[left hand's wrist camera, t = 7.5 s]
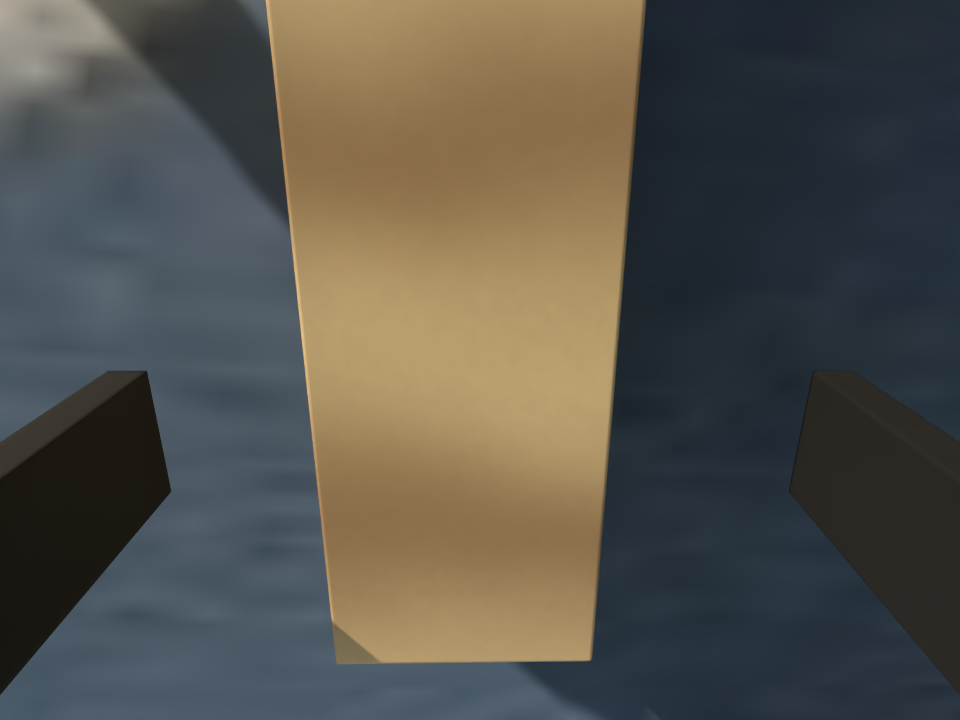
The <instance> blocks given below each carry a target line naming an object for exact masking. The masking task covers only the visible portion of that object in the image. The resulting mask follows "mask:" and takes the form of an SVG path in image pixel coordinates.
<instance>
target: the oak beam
mask: <svg viewBox="0 0 960 720" xmlns="http://www.w3.org/2000/svg"><path fill="white" fill-rule="evenodd" d="M266 6H267V15H268V25H269V34H270V44H271V53H272V62H273V72H274V81H275V91H276V100H277V110H278V119H279V128H280V138H281V147H282V157H283V166H284V176H285V185H286V194H287V204H288V213H289V223H290V232H291V242H292V251H293V260H294V270H295V279H296V289H297V298H298V308H299V317H300V326H301V336H302V345H303V355H304V364H305V374H306V383H307V392H308V402H309V411H310V421H311V430H312V440H313V449H314V458H315V468H316V477H317V487H318V496H319V506H320V515H321V524H322V534H323V543H324V553H325V562H326V571H327V581H328V590H329V600H330V609H331V619H332V628H333V637H334V647H335V656H336V662H337V663H338V664H378V663H464V662H549V661H590V660H591V659H592V654H593V642H594V630H595V618H596V606H597V594H598V581H599V569H600V557H601V545H602V533H603V521H604V509H605V497H606V484H607V472H608V460H609V448H610V436H611V424H612V412H613V400H614V387H615V375H616V363H617V351H618V339H619V327H620V315H621V303H622V290H623V278H624V266H625V254H626V242H627V230H628V218H629V205H630V193H631V181H632V169H633V157H634V145H635V133H636V121H637V108H638V96H639V84H640V72H641V60H642V48H643V36H644V24H645V11H646V0H266Z"/></svg>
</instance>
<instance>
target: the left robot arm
mask: <svg viewBox="0 0 960 720" xmlns="http://www.w3.org/2000/svg"><path fill="white" fill-rule="evenodd" d="M170 492H171V488H170V483H169V478H168V473H167V468H166V463H165V458H164V453H163V448H162V443H161V438H160V433H159V429H158V424H157V419H156V414H155V409H154V404H153V399H152V394H151V389H150V384H149V379H148V374H147V371H107V372H106V373H104V374H103V375H101V376H100V377H98V378H96V379H95V380H93V381H92V382H90V383H89V384H87V385H86V386H84V387H83V388H81V389H80V390H78V391H77V392H75V393H74V394H72V395H71V396H69V397H68V398H66V399H65V400H63V401H62V402H60V403H59V404H57V405H56V406H54V407H53V408H51V409H50V410H48V411H47V412H45V413H44V414H42V415H41V416H39V417H38V418H36V419H35V420H33V421H32V422H30V423H29V424H27V425H26V426H24V427H23V428H21V429H20V430H18V431H17V432H15V433H13V434H12V435H10V436H9V437H7V438H6V439H4V440H3V441H1V442H0V695H1V693H2V692H3V691H4V690H5V689H6V687H7V686H8V685H9V684H10V683H11V681H12V680H13V679H14V678H15V677H16V675H17V674H18V673H19V672H20V671H21V670H22V668H23V667H24V666H25V665H26V664H27V662H28V661H29V660H30V659H31V658H32V656H33V655H34V654H35V653H36V652H37V651H38V649H39V648H40V647H41V646H42V645H43V643H44V642H45V641H46V640H47V639H48V637H49V636H50V635H51V634H52V633H53V631H54V630H55V629H56V628H57V627H58V626H59V624H60V623H61V622H62V621H63V620H64V618H65V617H66V616H67V615H68V614H69V612H70V611H71V610H72V609H73V608H74V607H75V605H76V604H77V603H78V602H79V601H80V599H81V598H82V597H83V596H84V595H85V593H86V592H87V591H88V590H89V589H90V587H91V586H92V585H93V584H94V583H95V582H96V580H97V579H98V578H99V577H100V576H101V574H102V573H103V572H104V571H105V570H106V568H107V567H108V566H109V565H110V564H111V563H112V561H113V560H114V559H115V558H116V557H117V555H118V554H119V553H120V552H121V551H122V549H123V548H124V547H125V546H126V545H127V543H128V542H129V541H130V540H131V539H132V538H133V536H134V535H135V534H136V533H137V532H138V530H139V529H140V528H141V527H142V526H143V524H144V523H145V522H146V521H147V520H148V519H149V517H150V516H151V515H152V514H153V513H154V511H155V510H156V509H157V508H158V507H159V505H160V504H161V503H162V502H163V501H164V499H165V498H166V497H167V496H168V495H169V494H170ZM789 492H790V494H791V495H792V496H793V497H794V498H795V500H796V501H797V502H798V503H799V504H800V505H801V507H802V508H803V509H804V510H805V511H806V513H807V514H808V515H809V516H810V517H811V519H812V520H813V521H814V522H815V523H816V524H817V526H818V527H819V528H820V529H821V530H822V532H823V533H824V534H825V535H826V536H827V538H828V539H829V540H830V541H831V542H832V543H833V545H834V546H835V547H836V548H837V549H838V551H839V552H840V553H841V554H842V555H843V557H844V558H845V559H846V560H847V561H848V563H849V564H850V565H851V566H852V567H853V568H854V570H855V571H856V572H857V573H858V574H859V576H860V577H861V578H862V579H863V580H864V582H865V583H866V584H867V585H868V586H869V587H870V589H871V590H872V591H873V592H874V593H875V595H876V596H877V597H878V598H879V599H880V601H881V602H882V603H883V604H884V605H885V607H886V608H887V609H888V610H889V611H890V612H891V614H892V615H893V616H894V617H895V618H896V620H897V621H898V622H899V623H900V624H901V626H902V627H903V628H904V629H905V630H906V631H907V633H908V634H909V635H910V636H911V637H912V639H913V640H914V641H915V642H916V643H917V645H918V646H919V647H920V648H921V649H922V651H923V652H924V653H925V654H926V655H927V656H928V658H929V659H930V660H931V661H932V662H933V664H934V665H935V666H936V667H937V668H938V670H939V671H940V672H941V673H942V674H943V675H944V677H945V678H946V679H947V680H948V681H949V683H950V684H951V685H952V686H953V687H954V689H955V690H956V691H957V692H958V693H959V695H960V442H959V441H957V440H956V439H954V438H953V437H951V436H950V435H948V434H947V433H945V432H943V431H942V430H940V429H939V428H937V427H936V426H934V425H933V424H931V423H930V422H928V421H927V420H925V419H924V418H922V417H921V416H919V415H918V414H916V413H915V412H913V411H912V410H910V409H909V408H907V407H906V406H904V405H903V404H901V403H900V402H898V401H897V400H895V399H894V398H892V397H891V396H889V395H888V394H886V393H885V392H883V391H882V390H880V389H879V388H877V387H876V386H874V385H873V384H871V383H870V382H868V381H867V380H865V379H864V378H862V377H860V376H859V375H857V374H856V373H854V372H853V371H813V374H812V379H811V384H810V389H809V394H808V399H807V404H806V409H805V414H804V419H803V424H802V429H801V433H800V438H799V443H798V448H797V453H796V458H795V463H794V468H793V473H792V478H791V483H790V488H789Z"/></svg>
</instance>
